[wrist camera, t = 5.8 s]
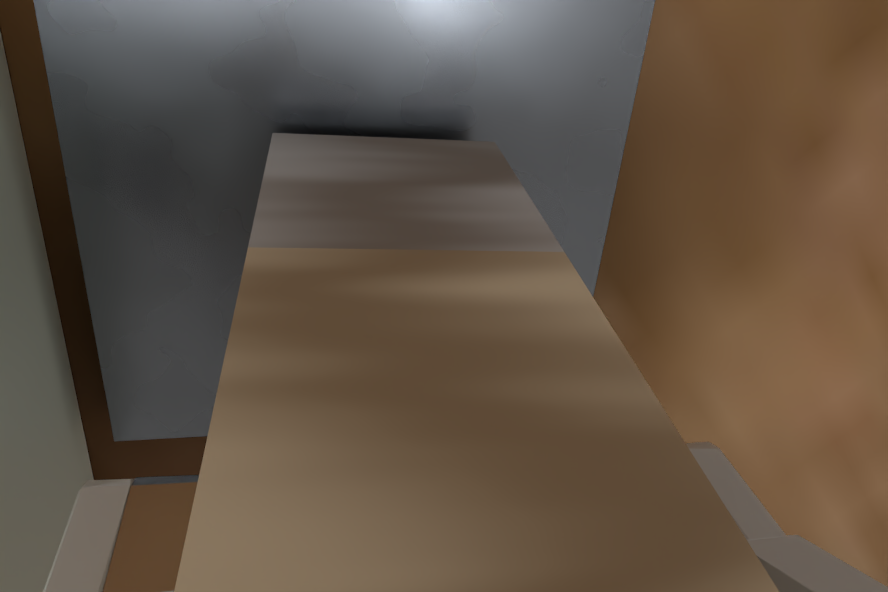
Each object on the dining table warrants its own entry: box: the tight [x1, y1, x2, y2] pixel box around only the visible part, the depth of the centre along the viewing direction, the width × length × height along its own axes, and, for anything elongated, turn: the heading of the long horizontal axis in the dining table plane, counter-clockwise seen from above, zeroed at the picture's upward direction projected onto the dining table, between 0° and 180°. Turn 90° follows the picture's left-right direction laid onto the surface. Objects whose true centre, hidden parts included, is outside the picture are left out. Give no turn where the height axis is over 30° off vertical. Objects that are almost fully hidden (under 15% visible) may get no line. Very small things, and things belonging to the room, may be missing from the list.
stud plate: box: [33, 0, 655, 441], centre depth 15 cm, size 12×12×5 cm
